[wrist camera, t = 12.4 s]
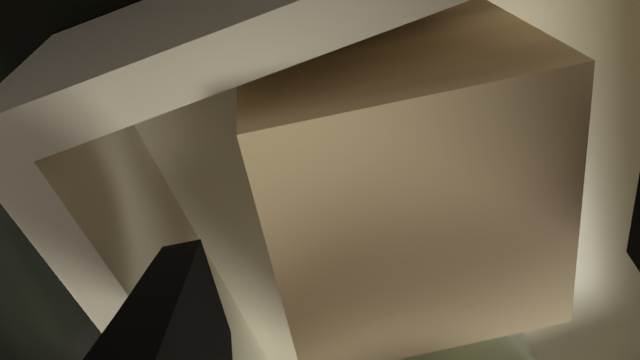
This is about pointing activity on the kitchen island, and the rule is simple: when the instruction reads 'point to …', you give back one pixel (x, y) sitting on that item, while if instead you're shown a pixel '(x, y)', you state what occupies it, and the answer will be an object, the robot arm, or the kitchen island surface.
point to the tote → (227, 162)
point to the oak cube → (422, 184)
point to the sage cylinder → (485, 350)
